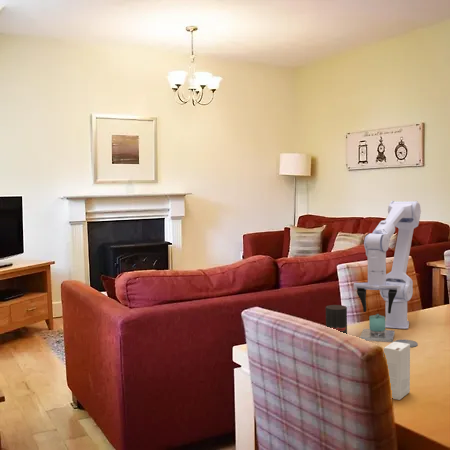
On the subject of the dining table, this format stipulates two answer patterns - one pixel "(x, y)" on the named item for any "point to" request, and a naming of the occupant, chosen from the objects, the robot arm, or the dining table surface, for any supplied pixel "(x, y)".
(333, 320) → the deodorant
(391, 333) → the post plinth
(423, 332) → the dining table surface
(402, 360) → the skincare box
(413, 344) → the coaster
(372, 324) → the cap
